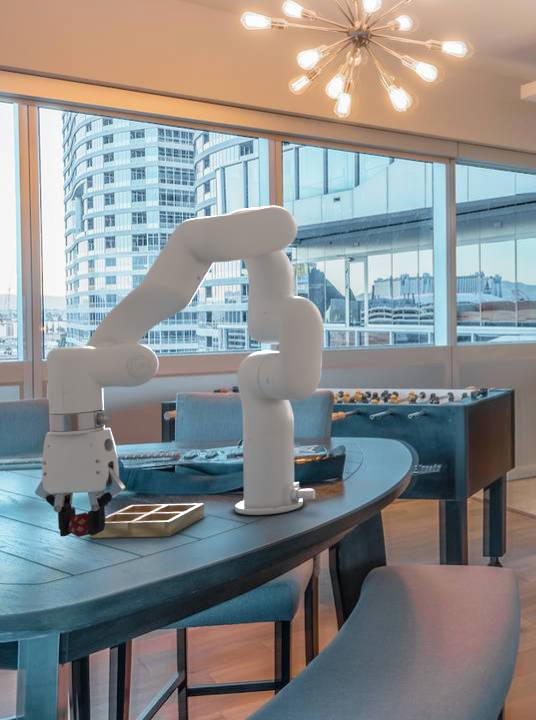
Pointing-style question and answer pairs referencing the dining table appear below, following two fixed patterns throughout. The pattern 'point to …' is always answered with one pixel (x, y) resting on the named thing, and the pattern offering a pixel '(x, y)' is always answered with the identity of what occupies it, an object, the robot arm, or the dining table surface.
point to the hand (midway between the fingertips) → (82, 532)
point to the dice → (78, 525)
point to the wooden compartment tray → (150, 520)
